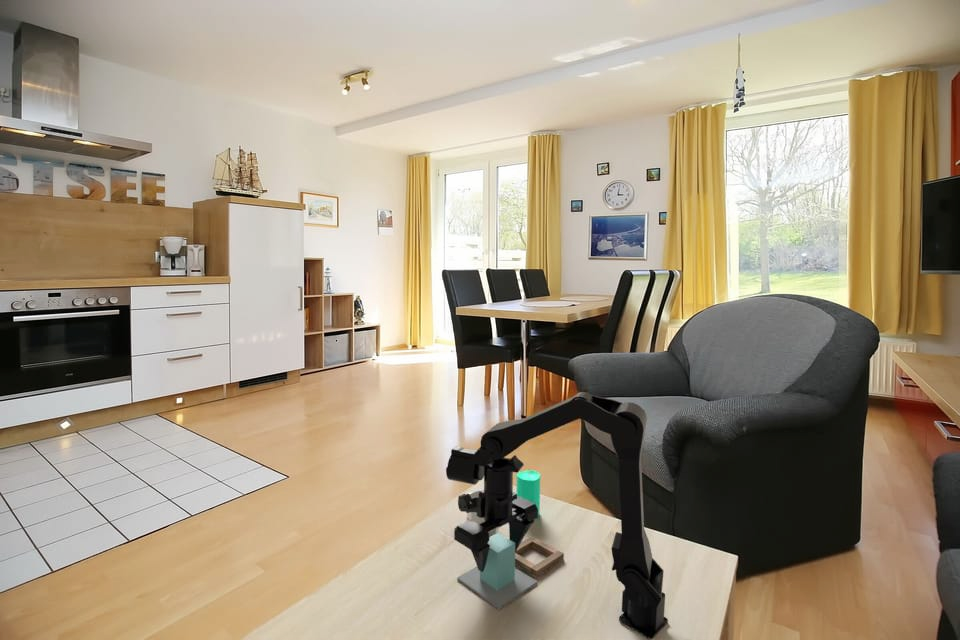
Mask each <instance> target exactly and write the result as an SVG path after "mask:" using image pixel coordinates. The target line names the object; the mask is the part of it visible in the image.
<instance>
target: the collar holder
mask: <svg viewBox="0 0 960 640" xmlns="http://www.w3.org/2000/svg"><path fill="white" fill-rule="evenodd" d="M531 549H534V550H536V551H538V552H539V553H542V554H544V555H545V556H547V557H545V558H543V560H540V561H539V562H538V563H536V564H535V563H533V562H532V561H531V560H528V559H526V558H525V557H523V556H522V554H524V553H526V552H527V551H529V550H531ZM564 556H565V553H564V552H562V551H561V550H559V549H556V548H555V547H553V546H551V545H549V544H547V543H545V542H543V541H542V540H540V539H538V538H535V537H534V536H532V535H531V536H530V537H528V538H526V539H523V540H522V541H521V543H520V545H519V547H518V549H517V551H516V552H515V567H516V566H517V567H518V568H520V569H521V570H523V571H525V572H526V573H528V574H530V575H531V576H533V577H534V578H538V577H540V576H541V575H543V574H544V573H546V572H547V571H549V570H550V569H553V567H555V566H556V565H558V564H560V563H561V562H562V561H564V559H565V558H564Z"/></svg>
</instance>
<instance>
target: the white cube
mask: <svg viewBox="0 0 960 640" xmlns="http://www.w3.org/2000/svg"><path fill="white" fill-rule="evenodd" d="M474 492H475V491H473V492H466V494H471V493H474ZM466 515H467V518H468V521H469V520H472V521H474V522H476V523H477V524H481V523H483V522H485V521H484V518H483V517H482V518H480V517H478V516H477V512H469V513H466Z"/></svg>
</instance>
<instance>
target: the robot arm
mask: <svg viewBox="0 0 960 640" xmlns="http://www.w3.org/2000/svg"><path fill="white" fill-rule="evenodd" d="M647 418H648V416H647V414H646V411H645V409H643V408H642V407H641V406H640V405H639V404H637V403H635V402H631V401H630V402H621V401H618V400H615V399H612V398H606V397H602V396H597V395H595V394H592V393H589V392H586V391H579V392H578V393H576V394H575V395H574V396H571V397H570V398H567V399H565V400H563V401H560V402H558V403H556V404H554V405H551V406H548V407H547V408H544V409H542V410H540V411H538V412H536V413H534V414H531V415H529V416H527V417H524V418H520V419H510V420H506V421H501V422H498V423H496V424H495V425H493V426H492V427H491V428H490V429H488V430H487V431H486V432H485V433H484V434H483V435H482V436H481V439H480V447H479V448H478V449H470V448H465V447H461V446H458V445H456V446H454V447H453V448H452V449H451V450H450V451H451V452H450V455H449V458H448V462H447V466H446V468H445V473H446V478H447V479H448V480H449V481H454V482H459V483H464V484H470V485H475V486H476V485H477V484H478V483H479V481H482V480H483V490H477V491H473V492H474V493H473V492H470V493H471V494H467V493H463V494H461V495H458V498H457V499H458V500H457V506H458V509H459V511H460V512H463V513H464V512H465V513H466V514H467V513H469V512H477V516H478V517H480V518H482V517H483V518H484V521H485V522H483V523H481V524H477V523H476V522H474V521H472V520H469V519H468V520H467V521H465V522H463V523H460V524H458V525H456V527H455V528H454V532H453V533H454V534H453V536H454V541H455V542H458V543H459V544H461V545H463V546H464V547H466V548H467V549H469V550H470V551H471V554H472V557H473V559H474V562H475V564H476V567H478V570H479V571H481V572H483V571H484V568H485V565H486V561H487V556H488V552H489V548H490V545H489V544H487V543H488V541H489V537H490V533H491V532H493V531H496V530H498V529H500V528H502V527H503V526H505V525H507V524H508V528H509V529H508V530H509V532H508V533H509V534H508V535H509V540H511V541H513V542H514V543H515V552H516V551H517V549H518V547H519V545H520V543H521V542H523V540H524V538H525V536H526V534H527V533H528V531H529V529H530V528H531V526H532V525H533V524H534V522H535V520H536V519H538V517H539V516H538V508H537V506H536V505H535V503H533V502H530V501H528V500H526V499H524V498H522V497H520V496H519V497H517V494H516V492H514V491H513V490H514V489H513V487H514V486H513V485H514V473H516V474H518V472H520V471H521V469H522V468H523V467H524V463H523V461H521V460H520V459H519V458H518V457H517V455H516V454H515V455H513V456H512V457H510V458H509V457H507V456H509V455H510V454H511V453H512V452H515V450H517V449H518V448H520V446H522V445H524V444H525V443H527V442H528V441H530V440H532V439H534V438H537V437H539V436H542V435H545V434H546V433H549V432H551V431H554V430H556V429H558V428H560V427H563V426H566V425H568V424H570V423H572V422H575V421H577V420H579V419H580V420H581V421H585V422H587V423H588V424H590V425H591V426H593V427H594V428H596V429H597V430H599V431H601V432H604V434H608V435H610V439H611V444H612V447H613V450H614V452H615V455H616V457H617V460H618V482H619V501H620V503H619V505H620V506H619V507H620V525H621V526H620V527H621V532H618V531H616V532H615V534H614V538H613V541H612V545H611V549H610V550H611V554H612V561H613V564H612V566H611V567H612V568H611V571H612V572H613V571H615V576H616V579H617V580H618V582H620V583H621V584H622V585H623V586H624V590H622V597H621V612H622V614H621V615H619V616H618V621H619V622H620V623H622V624H623V625H626V626H627V627H629V628H630V629H633V630H634V631H635V632H637V633H639V634H641V635H643V636H644V637H645V638H647V639H650V640H651V639H653V638H654V637H655V636H656V635H657V634H658V633H659V632H660V631H661V630H662V629H663V628H664V627H665V626H666V625H667V624H668V622H669V619H668V617H665V608H666V607H665V603H666V594H665V593H664V592H663V586H664V585H663V582H664V569H663V568H662V567H661V566H660V564H659V563H657V561H656V560H655V559H654V558H653V553H652V549H651V545H650V541H649V538H648V537H649V536H648V534H647V533H646V530H645V523H644V521H645V520H644V519H645V517H644V493H643V472H642V471H643V470H642V467H643V466H642V452H643V446H644V440H645V433H646V425H647V420H648V419H647Z"/></svg>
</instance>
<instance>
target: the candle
mask: <svg viewBox="0 0 960 640" xmlns="http://www.w3.org/2000/svg"><path fill="white" fill-rule="evenodd" d="M515 493H516V494H517V497H519V496H520V497H522V498H524V499H526V500H528V501H530V502H533V503H535V505H536V506H537V508H538V517H539V516H540V512H541V511H540V508H541V507H540V503H541V502H540V501H541V473H540V472H538V471H536V470H533V469H532V470H530V469H529V468H528V470H523V471H519V472H517V473H516V492H515Z"/></svg>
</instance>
